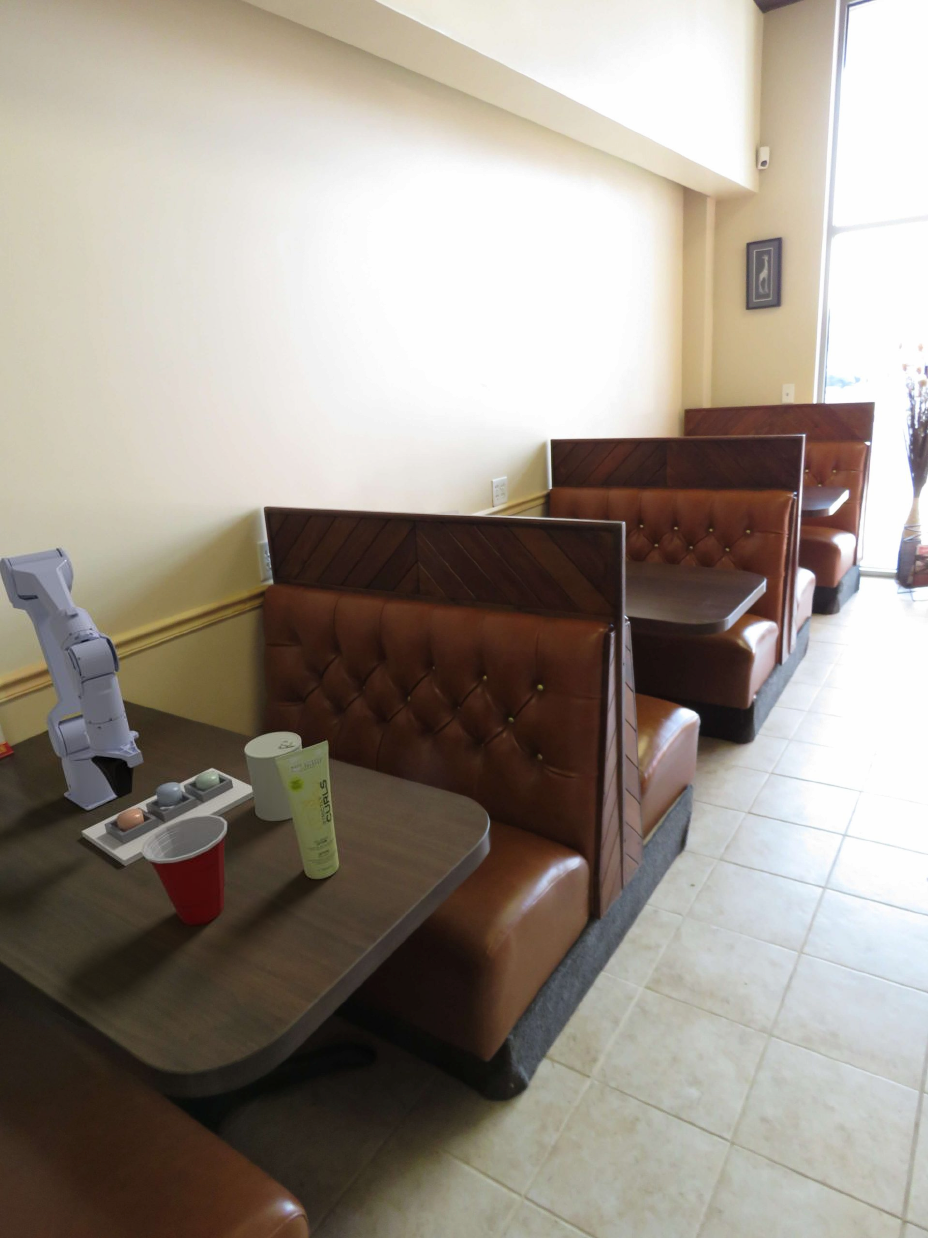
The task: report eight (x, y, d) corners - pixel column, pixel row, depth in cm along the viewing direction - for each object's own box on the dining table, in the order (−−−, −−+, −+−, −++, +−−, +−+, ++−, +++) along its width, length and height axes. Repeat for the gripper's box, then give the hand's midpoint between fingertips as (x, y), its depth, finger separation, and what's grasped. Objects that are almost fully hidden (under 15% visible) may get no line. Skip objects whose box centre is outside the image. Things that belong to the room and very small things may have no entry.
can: (297, 822, 120) (286, 755, 116) (245, 820, 122) (232, 754, 118) (319, 792, 128) (309, 729, 125) (270, 790, 130) (259, 728, 127)
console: (83, 836, 121) (79, 822, 120) (212, 772, 138) (210, 760, 137) (125, 866, 112) (121, 851, 111) (258, 794, 129) (255, 780, 129)
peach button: (115, 830, 119) (111, 817, 119) (137, 819, 122) (134, 806, 121) (126, 837, 117) (123, 824, 116) (149, 826, 120) (146, 813, 119)
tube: (327, 885, 104) (307, 760, 98) (295, 880, 105) (274, 757, 100) (345, 860, 109) (327, 740, 103) (314, 856, 111) (295, 737, 105)
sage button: (193, 791, 129) (190, 778, 129) (212, 781, 132) (210, 769, 131) (205, 797, 127) (203, 784, 126) (224, 787, 130) (222, 775, 129)
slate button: (154, 803, 124) (151, 790, 123) (175, 792, 127) (172, 780, 126) (166, 809, 122) (163, 796, 121) (187, 799, 124) (184, 786, 124)
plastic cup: (214, 875, 108) (198, 802, 105) (258, 903, 101) (244, 826, 98) (143, 918, 100) (124, 841, 97) (187, 951, 94) (168, 870, 90)
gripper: (153, 716, 112) (171, 795, 116) (107, 696, 121) (125, 770, 125) (108, 735, 107) (128, 817, 111) (63, 712, 116) (83, 789, 120)
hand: (123, 794), depth 118 cm, fingers closed
